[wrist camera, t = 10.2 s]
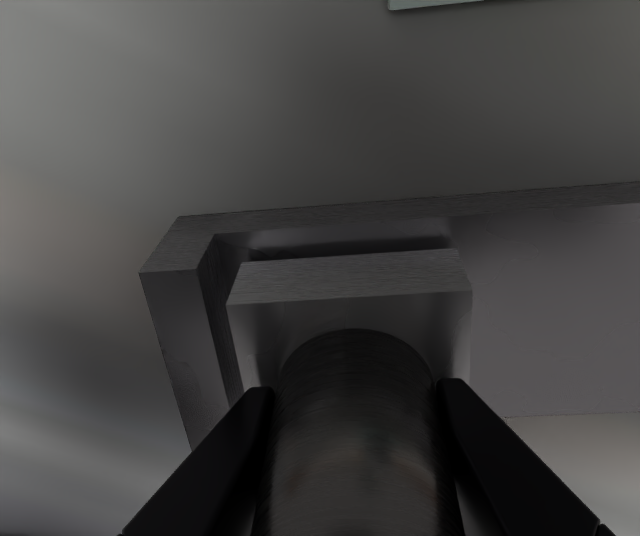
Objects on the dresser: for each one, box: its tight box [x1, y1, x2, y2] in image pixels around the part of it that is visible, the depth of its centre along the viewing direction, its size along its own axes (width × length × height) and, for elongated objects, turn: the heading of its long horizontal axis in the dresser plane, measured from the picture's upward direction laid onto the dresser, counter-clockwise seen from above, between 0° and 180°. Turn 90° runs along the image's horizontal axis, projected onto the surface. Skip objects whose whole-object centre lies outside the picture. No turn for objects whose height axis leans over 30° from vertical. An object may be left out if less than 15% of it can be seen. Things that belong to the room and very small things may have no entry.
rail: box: [139, 182, 640, 451], centre depth 11 cm, size 5×13×2 cm, turn 96°
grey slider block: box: [226, 248, 473, 536], centre depth 9 cm, size 8×4×6 cm, turn 6°
